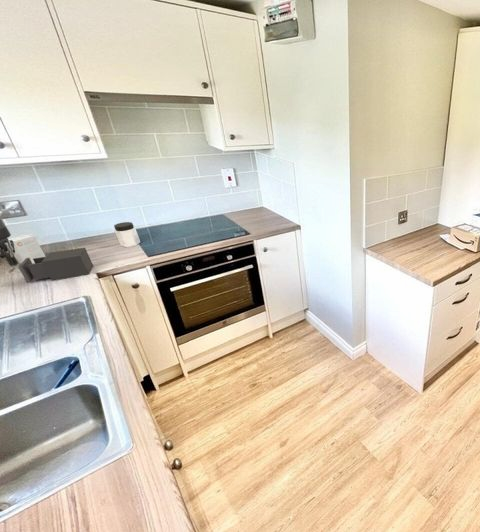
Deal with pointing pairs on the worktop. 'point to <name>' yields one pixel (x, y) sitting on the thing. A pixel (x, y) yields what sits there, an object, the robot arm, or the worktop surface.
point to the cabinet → (67, 263)
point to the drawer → (31, 269)
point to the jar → (126, 234)
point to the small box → (26, 248)
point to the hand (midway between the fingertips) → (14, 264)
